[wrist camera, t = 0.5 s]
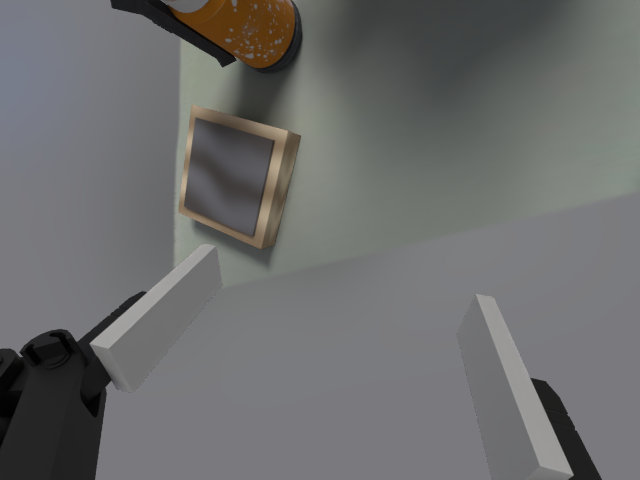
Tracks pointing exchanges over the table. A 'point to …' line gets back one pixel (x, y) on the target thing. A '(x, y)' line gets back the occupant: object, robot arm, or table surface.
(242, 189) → the plinth
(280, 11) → the canister
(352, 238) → the table surface
